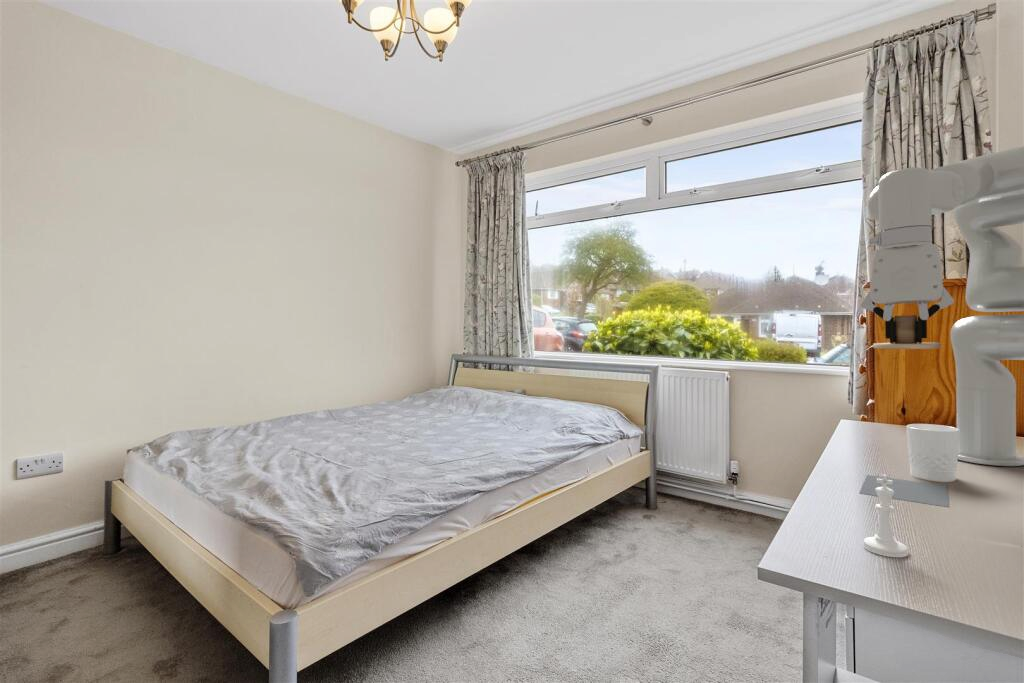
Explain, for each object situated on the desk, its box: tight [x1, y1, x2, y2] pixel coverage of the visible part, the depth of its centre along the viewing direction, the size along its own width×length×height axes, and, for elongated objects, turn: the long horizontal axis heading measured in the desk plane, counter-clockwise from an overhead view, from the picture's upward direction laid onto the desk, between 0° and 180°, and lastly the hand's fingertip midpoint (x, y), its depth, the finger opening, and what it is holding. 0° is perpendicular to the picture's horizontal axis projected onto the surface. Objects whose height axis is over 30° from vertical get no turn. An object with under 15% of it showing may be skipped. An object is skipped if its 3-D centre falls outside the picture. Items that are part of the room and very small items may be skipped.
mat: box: [858, 474, 950, 508], centre depth 91 cm, size 14×12×1 cm
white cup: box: [906, 423, 959, 483], centre depth 98 cm, size 8×8×10 cm
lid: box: [872, 314, 942, 350], centre depth 91 cm, size 10×10×6 cm
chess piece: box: [862, 474, 909, 558], centre depth 67 cm, size 5×5×10 cm
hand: (905, 341), depth 91 cm, fingers closed on lid, 3 cm apart
